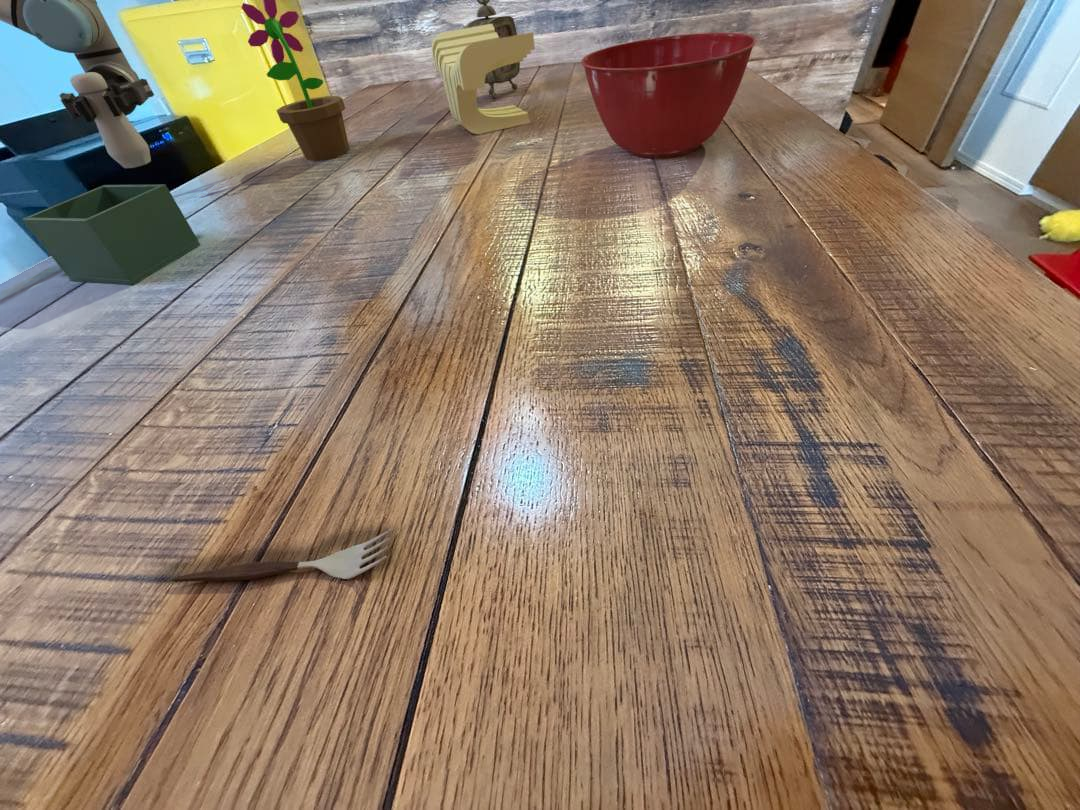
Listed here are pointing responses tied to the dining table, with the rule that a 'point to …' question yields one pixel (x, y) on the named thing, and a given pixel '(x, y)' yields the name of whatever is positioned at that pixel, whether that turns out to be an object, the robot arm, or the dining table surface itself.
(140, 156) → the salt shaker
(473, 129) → the slatted curved stool
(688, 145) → the mixing bowl
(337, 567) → the fork
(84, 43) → the robot arm
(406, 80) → the dining table surface
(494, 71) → the tabletop clock
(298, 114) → the flowerpot
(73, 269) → the waste bin
